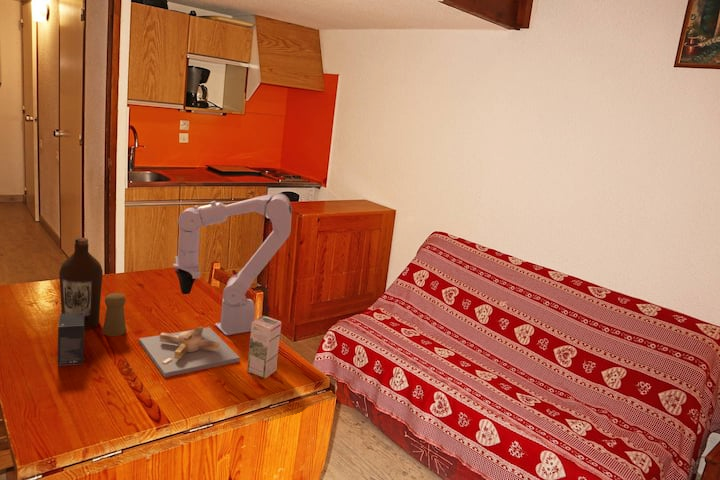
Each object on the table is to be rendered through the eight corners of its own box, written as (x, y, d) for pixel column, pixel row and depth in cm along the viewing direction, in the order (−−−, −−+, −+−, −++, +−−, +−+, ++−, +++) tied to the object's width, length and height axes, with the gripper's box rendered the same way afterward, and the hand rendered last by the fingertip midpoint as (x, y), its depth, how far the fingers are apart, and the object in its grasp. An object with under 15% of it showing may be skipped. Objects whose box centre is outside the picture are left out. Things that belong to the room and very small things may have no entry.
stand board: (209, 330, 158) (209, 326, 158) (239, 361, 143) (239, 356, 143) (139, 342, 145) (139, 337, 145) (164, 377, 131) (164, 372, 130)
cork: (117, 337, 146) (118, 300, 143) (97, 333, 147) (98, 296, 144) (130, 329, 152) (132, 293, 149) (111, 324, 153) (112, 289, 150)
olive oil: (65, 314, 155) (65, 232, 148) (105, 316, 157) (107, 235, 151) (54, 331, 145) (53, 243, 138) (96, 332, 147) (98, 246, 141)
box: (83, 364, 131) (84, 325, 128) (57, 366, 129) (57, 326, 126) (84, 349, 138) (84, 311, 135) (59, 351, 135) (59, 313, 133)
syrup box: (276, 370, 142) (282, 320, 138) (264, 379, 136) (269, 327, 133) (259, 363, 144) (264, 314, 140) (245, 372, 138) (251, 321, 135)
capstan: (158, 341, 144) (158, 328, 143) (201, 333, 152) (202, 320, 151) (175, 361, 136) (176, 347, 134) (220, 352, 143) (221, 338, 142)
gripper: (165, 242, 157) (163, 285, 160) (184, 258, 146) (181, 304, 150) (189, 241, 161) (186, 283, 165) (208, 256, 151) (205, 301, 154)
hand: (185, 293), depth 157 cm, fingers closed
